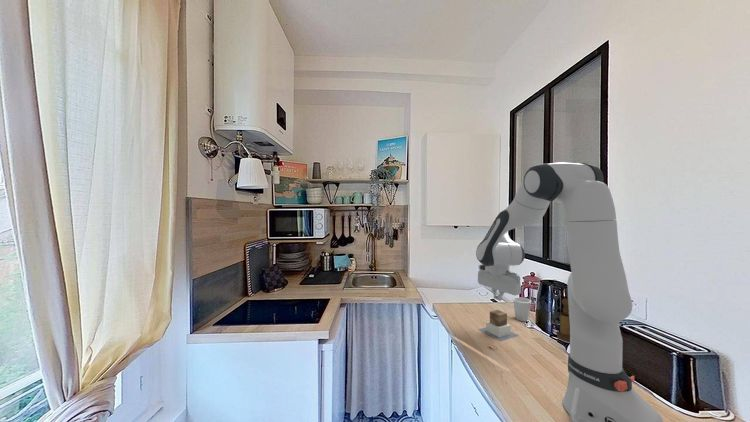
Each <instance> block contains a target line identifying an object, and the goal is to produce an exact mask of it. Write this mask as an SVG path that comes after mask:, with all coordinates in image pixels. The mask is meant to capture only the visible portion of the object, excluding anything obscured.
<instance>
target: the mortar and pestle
mask: <svg viewBox="0 0 750 422" xmlns="http://www.w3.org/2000/svg"><path fill="white" fill-rule="evenodd" d="M561 304H562V305H563V308H562V312H561V313H559V314H560V315H559V316H560V317H559V331H560V332H559V331H557V332H558V333H557V332H556V333H557V337H556V338H557V339H559V340H560V341H563V342H569V343H570V319H569V306H568V297H567V298H566V297H563V298H562V299H561Z"/></svg>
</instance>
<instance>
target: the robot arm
mask: <svg viewBox="0 0 750 422" xmlns="http://www.w3.org/2000/svg"><path fill="white" fill-rule="evenodd" d="M604 179H605V178H604V174H603V172H602V170H601V169H600V168H599V167H598V166H596V165H594V164H592V163H588V162H587V163H586V162H580V163H575V162H553V163H539V164H536V165H533V166H531V167H529V168H528V169H527V170H526V171H525V174H524V176H523V180H522V182H521V183H520V185H519V186H518V189H517V191H516V194H515V196H514V198H513V200H512V201H511V203H509V205H508V206H507V207H506V208H505V209H503V210H501V211H500V212H499V213H498V215H497V216H496V217H495V219H494V221H493V222H492V224H491V226H490V228H489V229H488V231H487V233H486V234H485V236H484V238H483V240H482V241H481V242H480V243H479V244H478V245H477V247H476V251H475V255H476V260H477V261H479V263H480V264H479V265H478V269H479V270H478V271H477V282H478V284H479V285H482V286H484V287H487V288H491V292H492V294H493V299H494V300H497V301H502V300H503V296H504V295H505V293H506V294H509V295H512V296H519V295H521V293H522V285H521V276H520V274H518V273H517V272H513V271H510V266H512V267H513V266H515V267H516V266H519V265H521V264H522V263H523V262H524V260H525V256H526V253H525V252H526V251H525V248H524V247H523V245H521V244H520V243H517V242H515V241H514V240H512V239H511V237H510V235H509V233H508V232H509V231H511V230H514V229H516V228H517V229H518V228H521V227H525V226H529V225H533V224H536V223H537V222H539V221H540V220H541V219H542V218H543V217H544V216H545V214H546V212H547V210H548V208H549V207H550V203H551V202H553V201H555V200H557V201H560V202H561V203H562V205H563V208H564V222H565V223H564V224H565V235H566V246H567V247H566V249H567V253H568V257H569V264H570V271H571V273H570V274H569V276H568V277H567V278H568V279H567V299H568V309H569V312H568V314H569V319H570V342H569V353H568V355H567V356H568V357H567V371H568V378H567V379H568V381H567V386H566V390H565V393H564V397H563V399H562V405H563V408H564V410H566V412H567V413H568V415H569V417H570V418H569V419H570V422H664V419H663V418H662V416H661V414H660V413H659V412H658V411H657V410H656V409H655V408H654V407H653V406H652V405H650V403H648V402H647V400H645V399H644V398H643V397H642V396H641V395H640V394H639V393H638V392H637V391H636V389H634V388H633V382H634V381H635V375H632V376H629V375H628V373H626V371H625V370H624V367H623V336H622V333H621V332H622V331H621V329H620V323H619V322H621V321H624V320H625V319H627V318H628V317H629V316H630V314H631V313H632V310H633V301H632V296H631V295H630V291H629V286H628V281H627V277H626V276H627V275H626V273H625V272H626V271H625V267H624V264H623V259H622V257H621V252H620V245H619V244H620V243H619V234H618V223H617V221H618V220H617V213H616V207H615V204H614V199H613V197H612V196H613V195H612V192H611V190H610V188H609V186H608V184H606V183H605V182H604Z"/></svg>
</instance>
